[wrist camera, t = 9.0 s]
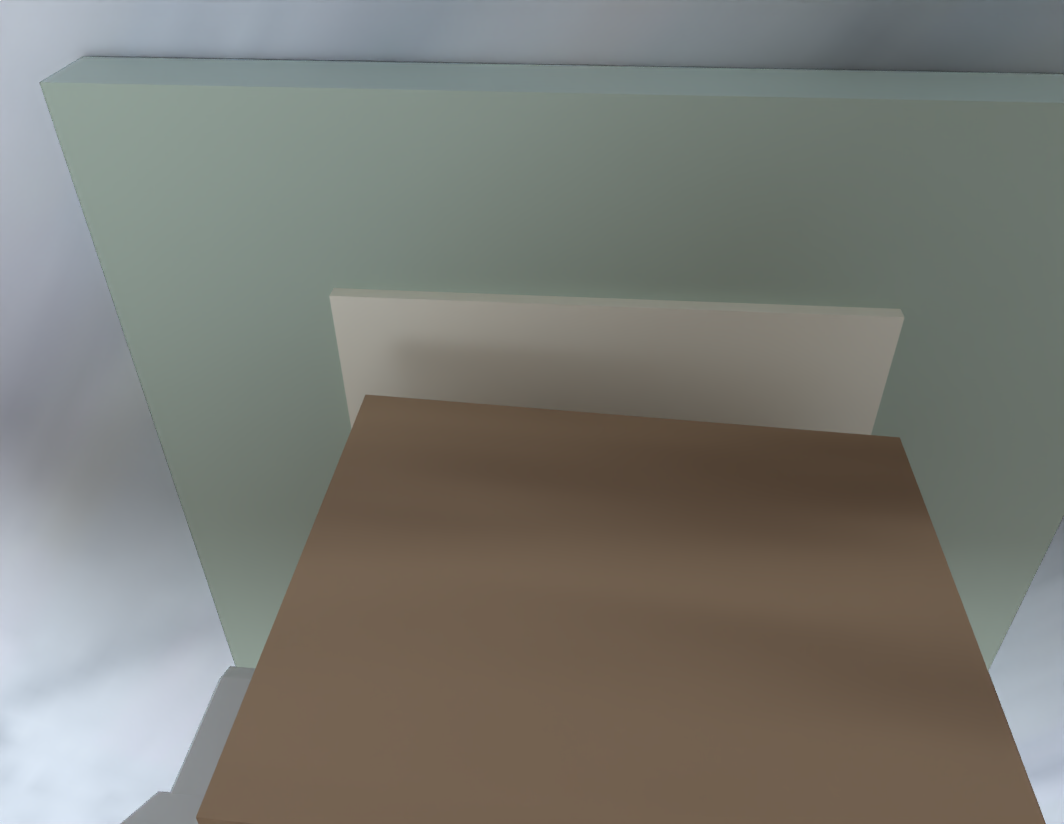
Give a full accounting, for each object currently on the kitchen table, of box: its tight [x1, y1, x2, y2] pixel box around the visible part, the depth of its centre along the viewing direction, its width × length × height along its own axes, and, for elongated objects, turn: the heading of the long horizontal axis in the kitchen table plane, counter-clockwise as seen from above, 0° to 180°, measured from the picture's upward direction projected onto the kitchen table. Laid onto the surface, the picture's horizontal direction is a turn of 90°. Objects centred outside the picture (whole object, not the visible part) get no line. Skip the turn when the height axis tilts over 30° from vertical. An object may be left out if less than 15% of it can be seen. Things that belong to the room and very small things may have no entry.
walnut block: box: [196, 395, 1046, 824], centre depth 10 cm, size 7×6×5 cm
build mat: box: [40, 57, 1064, 670], centre depth 14 cm, size 13×13×1 cm
